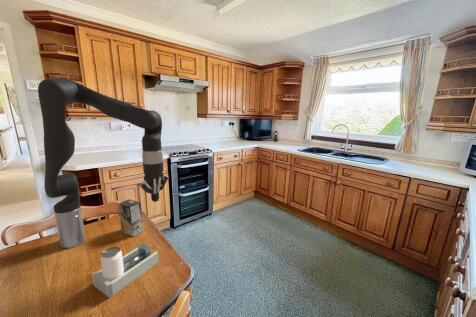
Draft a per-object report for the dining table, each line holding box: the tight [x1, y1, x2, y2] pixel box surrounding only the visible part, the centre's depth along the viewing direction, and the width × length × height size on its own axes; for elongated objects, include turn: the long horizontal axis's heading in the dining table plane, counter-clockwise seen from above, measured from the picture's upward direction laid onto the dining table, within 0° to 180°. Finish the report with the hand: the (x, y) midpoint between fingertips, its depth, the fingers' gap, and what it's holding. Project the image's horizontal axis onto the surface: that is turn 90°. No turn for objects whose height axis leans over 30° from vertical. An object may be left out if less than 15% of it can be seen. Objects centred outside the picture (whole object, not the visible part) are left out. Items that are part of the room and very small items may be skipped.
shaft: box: [123, 243, 152, 273], centre depth 80 cm, size 5×10×6 cm, turn 150°
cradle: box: [91, 247, 160, 299], centre depth 78 cm, size 10×20×5 cm, turn 150°
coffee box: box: [118, 199, 144, 237], centre depth 104 cm, size 9×6×16 cm
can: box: [100, 246, 124, 282], centre depth 72 cm, size 6×6×12 cm
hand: (155, 200), depth 85 cm, fingers closed
